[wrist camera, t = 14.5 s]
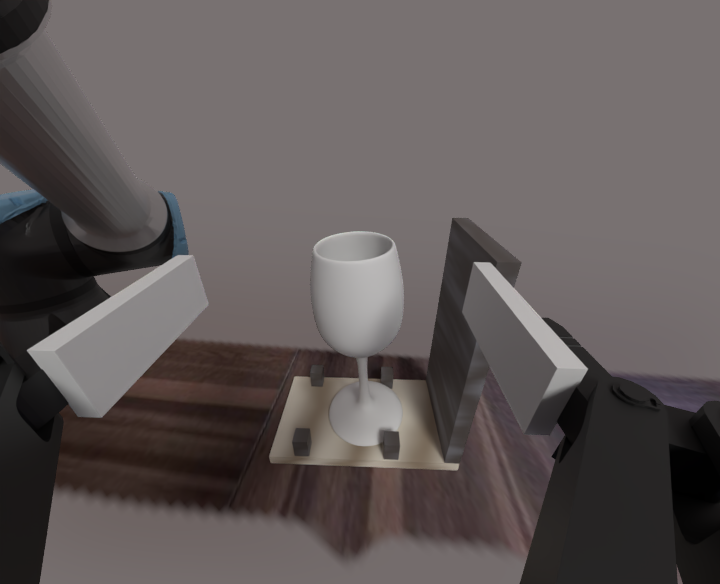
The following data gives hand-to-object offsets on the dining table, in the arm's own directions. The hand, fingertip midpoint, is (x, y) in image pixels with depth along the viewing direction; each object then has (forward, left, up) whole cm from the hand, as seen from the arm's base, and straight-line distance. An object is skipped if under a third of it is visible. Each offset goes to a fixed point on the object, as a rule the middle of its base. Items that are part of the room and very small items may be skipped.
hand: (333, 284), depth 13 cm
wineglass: (+2, +10, -22) cm, 25 cm away
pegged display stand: (+2, +10, -24) cm, 26 cm away
